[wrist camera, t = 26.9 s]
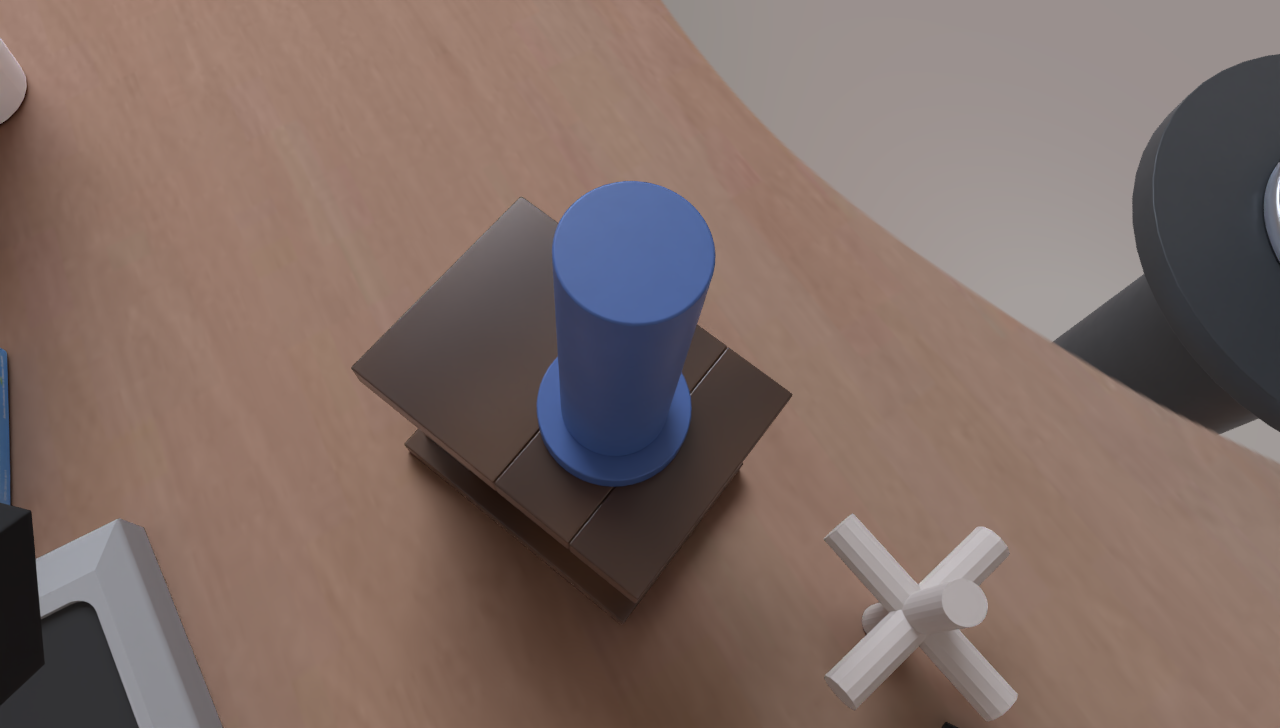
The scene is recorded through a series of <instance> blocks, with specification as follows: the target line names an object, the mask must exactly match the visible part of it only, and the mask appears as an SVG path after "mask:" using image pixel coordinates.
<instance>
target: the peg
mask: <svg viewBox="0 0 1280 728" xmlns="http://www.w3.org/2000/svg"><path fill="white" fill-rule="evenodd" d="M552 264H553V281H554V298H555V315H556V332H557V349H558V357H557V358H556V359H555V360H554V361H553V363H552V364H551V365H550V366H549V368H548V369H547V371H546V373H545V375H544V377H543V379H542V381H541V384H540V387H539V391H538V396H537V418H538V424H539V430H540V433H541V436H542V439H543V442H544V444H545V446H546V448H547V449H548V451H549V453H550V454H551V456H552V457H553V458H554V459H555V460H556V462H557V463H558V464H559V465H560V466H561V467H563V468H564V469H565V470H566V471H568V472H569V473H570V474H572V475H573V476H575V477H577V478H579V479H581V480H583V481H586V482H589V483H592V484H596V485H600V486H609V487H619V486H627V485H633V484H636V483H639V482H642V481H645V480H647V479H649V478H651V477H653V476H654V475H656V474H657V473H659V472H660V471H662V470H663V469H664V468H665V467H666V466H667V465H668V464H669V463H670V462H671V461H672V460H673V459H674V458H675V456H676V455H677V453H678V452H679V450H680V448H681V446H682V444H683V442H684V440H685V437H686V435H687V432H688V429H689V426H690V420H691V410H692V406H691V396H690V392H689V388H688V385H687V382H686V380H685V378H684V376H683V374H682V369H683V366H684V363H685V360H686V357H687V353H688V350H689V347H690V344H691V341H692V338H693V335H694V332H695V329H696V325H697V322H698V319H699V316H700V313H701V310H702V307H703V304H704V301H705V297H706V294H707V291H708V288H709V285H710V282H711V279H712V276H713V272H714V267H715V246H714V242H713V238H712V235H711V232H710V230H709V227H708V226H707V224H706V222H705V220H704V219H703V217H702V216H701V215H700V213H699V212H698V211H697V210H696V209H695V208H694V206H693V205H692V204H691V203H689V202H688V201H687V200H686V199H684V198H683V197H682V196H680V195H678V194H677V193H675V192H673V191H671V190H669V189H667V188H665V187H662V186H659V185H656V184H651V183H647V182H638V181H623V182H616V183H611V184H607V185H604V186H601V187H598V188H596V189H594V190H592V191H590V192H588V193H586V194H585V195H583V196H582V197H580V198H579V199H578V200H577V201H576V202H575V203H573V204H572V205H571V206H570V207H569V209H568V210H567V211H566V212H565V213H564V215H563V217H562V218H561V220H560V221H559V224H558V226H557V228H556V231H555V234H554V238H553V244H552Z"/></svg>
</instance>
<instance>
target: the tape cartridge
mask: <svg viewBox="0 0 1280 728" xmlns="http://www.w3.org/2000/svg"><path fill="white" fill-rule="evenodd" d="M0 503H3V504H7V505H10V444H9V404H8V369H7V352H6V351H5V350H3V349H1V348H0Z"/></svg>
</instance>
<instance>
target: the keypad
mask: <svg viewBox="0 0 1280 728" xmlns="http://www.w3.org/2000/svg"><path fill="white" fill-rule="evenodd" d="M36 570H37V581H38V592H39V604H40V615H41V626H42V637H43V649H44V660H45V664H44V665H43V666H42V667H41V668H40V669H39V670H38V671H37V672H36V673H35V674H34V675H33V676H32V677H31V678H29V679H28V680H27V681H26V682H25V683H24V684H23V685H22V686H21V687H20V688H19V689H18V690H17V691H16V692H14V693H13V694H12V695H11V696H10V697H9V698H8V699H7V700H6V701H5V702H4V703H3V704H2V705H1V706H0V728H223V727H222V724H221V722H220V719H219V717H218V714H217V712H216V709H215V707H214V704H213V701H212V699H211V696H210V694H209V691H208V689H207V686H206V684H205V681H204V679H203V676H202V674H201V671H200V669H199V666H198V664H197V661H196V659H195V656H194V653H193V651H192V648H191V646H190V643H189V641H188V638H187V636H186V633H185V631H184V628H183V626H182V623H181V621H180V618H179V616H178V613H177V610H176V608H175V605H174V603H173V600H172V598H171V595H170V593H169V590H168V588H167V585H166V583H165V580H164V578H163V575H162V573H161V570H160V568H159V565H158V562H157V560H156V557H155V555H154V552H153V550H152V547H151V545H150V542H149V540H148V537H147V535H146V532H145V530H144V528H143V527H141V526H138V525H136V524H133V523H130V522H128V521H125V520H123V519H120V518H119V519H117V520H114V521H112V522H110V523H108V524H106V525H104V526H102V527H100V528H98V529H96V530H94V531H92V532H90V533H88V534H86V535H84V536H82V537H80V538H78V539H76V540H74V541H72V542H70V543H68V544H66V545H64V546H62V547H60V548H57V549H55V550H53V551H51V552H49V553H47V554H45V555H43V556H41V557H39V558H37V559H36Z"/></svg>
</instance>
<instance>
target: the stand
mask: <svg viewBox="0 0 1280 728" xmlns="http://www.w3.org/2000/svg"><path fill="white" fill-rule="evenodd" d="M558 224H559V223H557V222H556V221H555V220H553V219H552V218H550V217H549V216H548V215H546V214H545V213H544V212H542V211H541V210H540V209H538V208H537V207H535V206H534V205H533V204H531V203H530V202H529V201H527V200H526V199H524V198H523V197H520V198H519V199H518V200H517V201H516V202H515V203H514V204H513V205H512V206H511V207H510V208H509V209H508V210H507V211H506V212H505V213H504V214H503V215H502V216H501V217H500V218H499V219H498V220H497V221H496V222H495V223H494V224H493V225H492V226H491V227H490V228H489V229H488V230H487V231H486V232H485V233H484V234H483V235H482V236H481V237H480V238H479V239H478V240H477V241H476V242H475V243H474V244H473V245H472V246H471V247H470V248H469V249H468V250H467V251H466V252H465V253H464V254H463V255H462V256H461V257H460V258H459V259H458V260H457V261H456V262H455V263H454V264H453V265H452V266H451V267H450V268H449V269H448V270H447V271H446V272H445V273H444V274H443V275H442V276H441V277H440V278H439V279H438V280H437V281H436V282H435V283H434V284H433V285H432V286H431V287H430V288H429V290H428V291H427V292H426V293H425V294H424V295H423V296H422V297H421V298H420V299H419V300H418V301H417V302H416V303H415V304H414V305H413V306H412V307H411V308H410V309H409V310H408V311H407V312H406V313H405V314H404V315H403V316H402V317H401V318H400V319H399V320H398V321H397V322H396V323H395V324H394V325H393V326H392V327H391V328H390V329H389V330H388V331H387V332H386V333H385V334H384V335H383V336H382V337H381V338H380V339H379V340H378V341H377V342H376V343H375V344H374V345H373V346H372V347H371V348H370V349H369V350H368V351H367V352H366V353H365V354H364V355H363V356H362V357H361V358H360V359H359V360H358V361H357V362H356V363H355V364H354V365H353V366H352V367H351V369H352V370H353V372H354V373H355V375H356V376H357V377H358V379H359V380H360V381H361V382H362V383H363V384H364V385H365V386H367V387H368V388H369V389H370V390H372V391H373V392H374V393H375V394H377V395H378V396H379V397H380V398H381V399H383V400H384V401H385V402H386V403H388V404H389V405H390V406H391V407H393V408H394V409H395V410H396V411H398V412H399V413H400V414H401V415H402V416H404V417H405V418H406V419H407V420H409V421H410V422H411V423H412V424H414V425H415V426H416V427H417V428H418V430H417V431H416V432H415V433H414V434H413V435H412V436H411V437H410V438H409V439H408V440H407V441H406V442H405V446H406V448H407V449H408V450H409V451H410V452H411V453H412V454H413V455H414V456H416V457H417V458H418V459H419V460H421V461H422V462H423V463H424V464H425V465H427V466H428V467H429V468H430V469H432V470H433V471H434V472H435V473H436V474H438V475H439V476H440V477H441V478H443V479H444V480H445V481H446V482H447V483H449V484H450V485H451V486H452V487H454V488H455V489H456V490H457V491H458V492H460V493H461V494H462V495H463V496H465V497H466V498H467V499H468V500H469V501H471V502H472V503H473V504H474V505H476V506H477V507H478V508H479V509H480V510H482V511H483V512H484V513H485V514H487V515H488V516H489V517H490V518H491V519H493V520H494V521H495V522H496V523H498V524H499V525H500V526H501V527H502V528H504V529H505V530H506V531H507V532H509V533H510V534H511V535H512V536H513V537H515V538H516V539H517V540H518V541H520V542H521V543H522V544H523V545H524V546H526V547H527V548H528V549H529V550H531V551H532V552H533V553H534V554H535V555H537V556H538V557H539V558H540V559H542V560H543V561H544V562H545V563H546V564H548V565H549V566H550V567H551V568H553V569H554V570H555V571H556V572H557V573H559V574H560V575H561V576H562V577H564V578H565V579H566V580H567V581H568V582H570V583H571V584H572V585H573V586H575V587H576V588H577V589H578V590H579V591H581V592H582V593H583V594H584V595H586V596H587V597H588V598H589V599H590V600H592V601H593V602H594V603H595V604H597V605H598V606H599V607H600V608H601V609H603V610H604V611H605V612H606V613H608V614H609V615H610V616H611V617H612V618H614V619H615V620H616V621H617V622H619V623H620V624H623V623H624V622H625V621H626V619H627V618H628V617H629V615H630V614H631V613H632V611H633V610H634V609H635V607H636V606H637V605H638V603H639V602H640V601H641V599H642V598H643V597H644V595H645V594H646V593H647V591H648V590H649V589H650V587H651V586H652V585H653V583H654V582H655V581H656V579H657V578H658V577H659V575H660V574H661V573H662V571H663V570H664V569H665V567H666V566H667V565H668V563H669V562H670V561H671V559H672V558H673V557H674V556H675V554H676V553H677V552H678V550H679V549H680V548H681V546H682V545H683V544H684V542H685V541H686V540H687V538H688V537H689V536H690V534H691V533H692V532H693V530H694V529H695V528H696V526H697V525H698V524H699V522H700V521H701V520H702V518H703V517H704V516H705V514H706V513H707V512H708V510H709V509H710V508H711V506H712V505H713V504H714V502H715V501H716V500H717V498H718V497H719V496H720V494H721V493H722V492H723V490H724V489H725V488H726V486H727V485H728V484H729V482H730V481H731V480H732V478H733V477H734V476H735V474H736V473H737V472H738V470H739V469H740V468H741V466H742V465H743V461H744V460H745V458H746V457H747V456H748V454H749V453H750V452H751V450H752V449H753V448H754V446H755V445H756V444H757V442H758V441H759V440H760V438H761V437H762V436H763V434H764V433H765V432H766V430H767V429H768V428H769V426H770V425H771V424H772V422H773V421H774V420H775V418H776V417H777V416H778V414H779V413H780V412H781V411H782V409H783V408H784V407H785V405H786V404H787V402H788V401H789V400H790V398H791V397H792V393H790V392H789V391H788V390H786V389H785V388H784V387H782V386H781V385H779V384H778V383H777V382H775V381H774V380H773V379H771V378H770V377H768V376H767V375H766V374H764V373H763V372H762V371H760V370H759V369H757V368H756V367H755V366H753V365H752V364H751V363H749V362H748V361H747V360H745V359H744V358H742V357H741V356H740V355H738V354H737V353H736V352H734V351H733V350H731V349H730V348H727V346H726V345H724V344H723V343H722V342H720V341H719V340H718V339H716V338H715V337H714V336H712V335H711V334H709V333H708V332H707V331H705V330H704V329H703V328H701V327H700V326H698V325H696V329H695V332H694V335H693V338H692V341H691V344H690V347H689V350H688V353H687V357H686V360H685V363H684V366H683V369H682V374H683V376H684V378H685V380H686V382H687V385H688V388H689V392H690V396H691V406H692V410H691V420H690V426H689V429H688V432H687V435H686V437H685V440H684V442H683V444H682V446H681V448H680V450H679V452H678V453H677V455H676V456H675V458H674V459H673V460H672V461H671V462H670V463H669V464H668V465H667V466H666V467H665V468H664V469H663V470H662V471H660V472H659V473H657V474H656V475H654V476H653V477H651V478H649V479H647V480H645V481H642V482H639V483H636V484H633V485H627V486H619V487H609V486H600V485H596V484H592V483H589V482H586V481H583V480H581V479H579V478H577V477H575V476H573V475H572V474H570V473H569V472H568V471H566V470H565V469H564V468H563V467H561V466H560V465H559V464H558V463H557V462H556V460H555V459H554V458H553V457H552V456H551V454H550V453H549V451H548V449H547V448H546V446H545V444H544V442H543V439H542V436H541V433H540V430H539V424H538V418H537V396H538V391H539V387H540V384H541V381H542V379H543V377H544V375H545V373H546V371H547V369H548V368H549V366H550V365H551V364H552V363H553V361H554V360H555V359H556V358H557V357H558V349H557V332H556V315H555V298H554V281H553V264H552V244H553V238H554V234H555V231H556V228H557V226H558Z"/></svg>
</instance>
